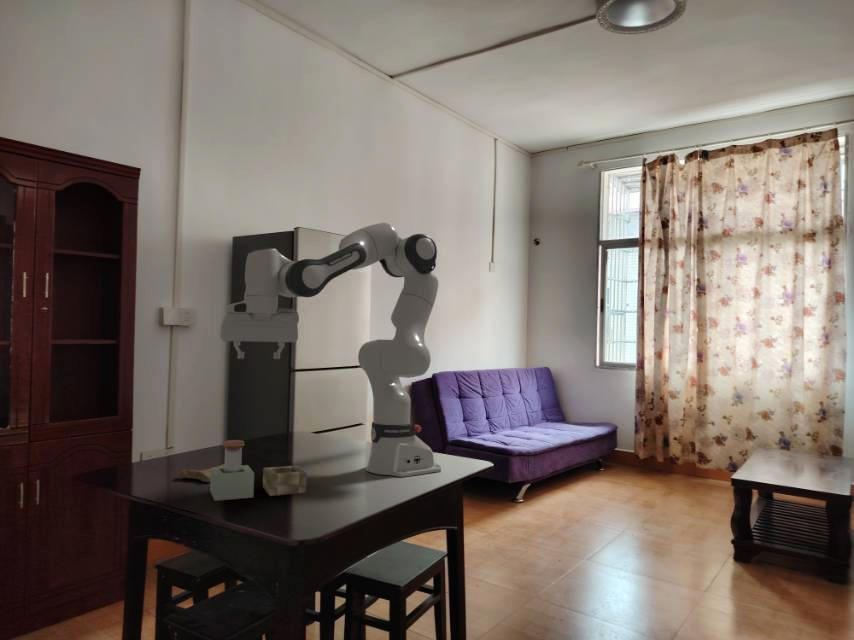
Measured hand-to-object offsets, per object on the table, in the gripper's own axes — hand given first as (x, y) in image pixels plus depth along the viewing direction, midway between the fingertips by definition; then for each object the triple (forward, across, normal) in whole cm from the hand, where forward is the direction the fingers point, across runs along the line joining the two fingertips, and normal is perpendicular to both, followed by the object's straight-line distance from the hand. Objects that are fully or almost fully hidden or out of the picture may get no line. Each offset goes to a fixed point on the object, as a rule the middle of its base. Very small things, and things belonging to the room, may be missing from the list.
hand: (259, 358), depth 165 cm
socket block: (+33, +7, +10) cm, 35 cm away
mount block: (+33, -6, +10) cm, 35 cm away
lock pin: (+33, +7, +10) cm, 35 cm away
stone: (+34, +10, -10) cm, 37 cm away
